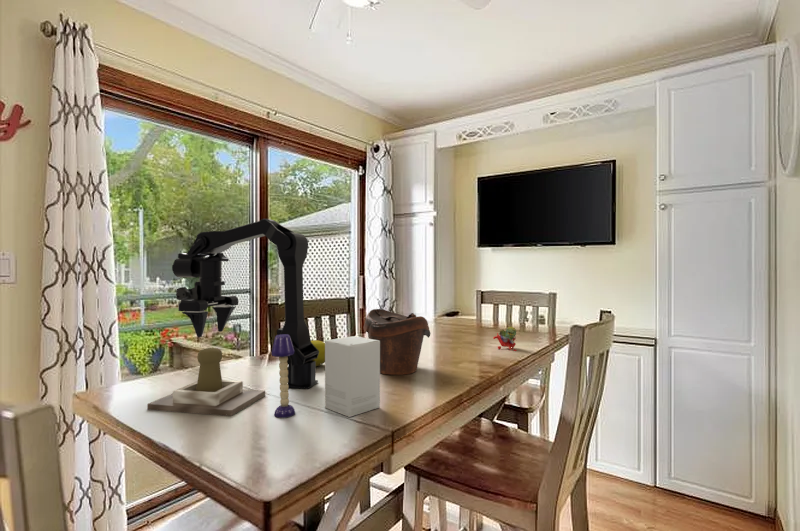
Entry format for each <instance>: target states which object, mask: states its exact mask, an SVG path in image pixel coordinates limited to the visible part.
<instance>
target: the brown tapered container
mask: <svg viewBox="0 0 800 531" xmlns="http://www.w3.org/2000/svg"><path fill="white" fill-rule="evenodd" d="M363 331H364V333H367V336H368V339H373V340H379V341H380V374H383V375H390V376H392V375H394V376H396V375H397V376H402V375H411V374H413V373H416V371H417V370H418V367H419V366H418V364H419V359H420V356H421V353H422V352H421V351H422V346H423V341H424V336H426V337H427V338H430V337H431V330H430V327H429V322H428V320H427V319H426V317H424V316H417V315H416V314H414V313H413V312H411V313H410V314H409V315H407V316H406V315H404V314H400V313H398V312H397V313H396V312H393V311H389V310H385V309H381V308H374V309H371V310H370V311H369V312H368V313H367V315H366V317H365V322H364V324H363Z"/></svg>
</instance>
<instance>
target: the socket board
mask: <svg viewBox="0 0 800 531" xmlns="http://www.w3.org/2000/svg"><path fill="white" fill-rule="evenodd" d="M197 382H198V380H197V381H194V382H192V383H190V384H187V385H185V386H182V387H180V388H178V389H175V390H173V391H172V393H170V394H167V395H166V396H163V397H161V398H159V399H156V400H153V401H151V402H149V403H147V405H146V406H147V410H151V411H152V410H153V411H163V412H174V413H176V412H177V413H186V414H187V413H188V414H189V413H190V414H200V415H203V414H204V415H213V416H226V417H232V416H234V415H236V414H237V413H239V412H240V411H242V410H244V409H246V408H247V407H249V406H250V405H252V404H253V403H255V402H257V401H259V400H261V399H262V398H263V397H265V396H266V390H261V389H260V390H259V389H244V381H243V380H232V379H231V380H230V379H229V380H228V379H222V385H223V388H222V389H220V390H218V391H216V392H204V391H196V389H197Z"/></svg>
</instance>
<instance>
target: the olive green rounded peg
mask: <svg viewBox="0 0 800 531" xmlns="http://www.w3.org/2000/svg"><path fill="white" fill-rule="evenodd" d="M196 357H197V362H198V363H199V370H198V378H197V381H198V382H197V381H196V382H197V389H196V391H204V392H216V391H218V390H220V389H222V388H223V385H222V380H223V378H222V371H221V370H222V369H221V364H220V363H221V361H222V358H223V352H222V350H221V349H220V348H217V347H207V348H203V349H201V350H199V352H198V353H197V356H196Z"/></svg>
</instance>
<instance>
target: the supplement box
mask: <svg viewBox="0 0 800 531" xmlns="http://www.w3.org/2000/svg"><path fill="white" fill-rule="evenodd" d="M324 343H325V363H324V408H325V409H328V410H330V411H333V412H335V413H337V414H341V415H343V416H346V417H349V418H350V417H353V416H358V415H360V414H364V413H366V412H369V411H374V410H375V409H380V407H381V380H380V379H381V373H380V341H379V340H373V339H369V338H367V337H361V336H355V335H353V336H352V335H351V336H346V337H339V338H333V339H326V340H325V341H324Z"/></svg>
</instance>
